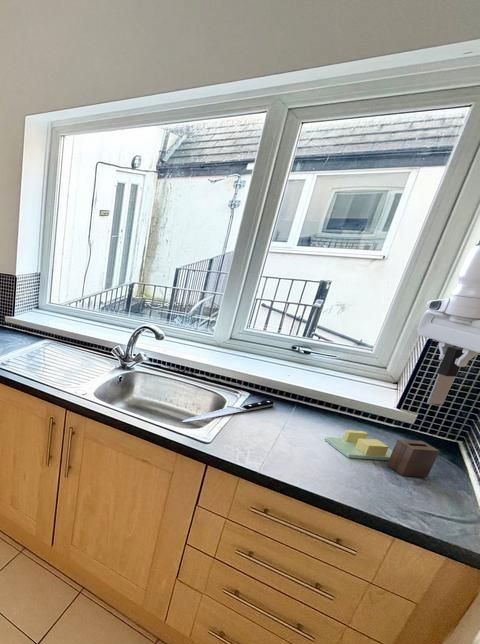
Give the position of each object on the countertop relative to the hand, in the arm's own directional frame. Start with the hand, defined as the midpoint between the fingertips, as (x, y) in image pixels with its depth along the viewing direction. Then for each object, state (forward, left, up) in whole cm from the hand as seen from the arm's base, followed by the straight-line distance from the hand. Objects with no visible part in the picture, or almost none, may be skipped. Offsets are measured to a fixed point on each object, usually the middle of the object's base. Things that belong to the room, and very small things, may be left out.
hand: (451, 363), depth 104 cm
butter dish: (+7, -7, -30) cm, 31 cm away
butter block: (+7, -4, -29) cm, 30 cm away
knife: (0, 0, -11) cm, 11 cm away
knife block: (+3, +3, -30) cm, 30 cm away
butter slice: (+7, -10, -29) cm, 31 cm away
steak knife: (+36, -25, -30) cm, 53 cm away
